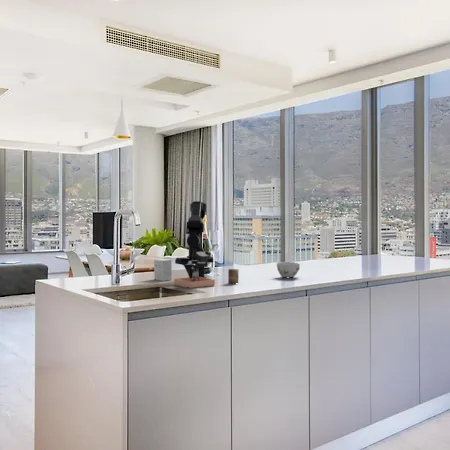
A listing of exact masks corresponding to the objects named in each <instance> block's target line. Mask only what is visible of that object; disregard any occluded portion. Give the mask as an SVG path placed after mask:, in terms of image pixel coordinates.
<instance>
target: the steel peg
mask: <svg viewBox="0 0 450 450" xmlns="http://www.w3.org/2000/svg"><path fill="white" fill-rule="evenodd" d="M190 281H191V282H193V281H199V269H197V268H193V267H192V278H191V279H190Z"/></svg>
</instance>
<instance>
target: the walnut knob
mask: <svg viewBox="0 0 450 450" xmlns="http://www.w3.org/2000/svg"><path fill="white" fill-rule="evenodd" d="M227 272H228V273H227V274H228V278H227V279H228V283H231V284H230V285H237V284H236V283H238V284H239V269H238V268H229V269H228V271H227Z"/></svg>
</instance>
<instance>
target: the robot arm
mask: <svg viewBox="0 0 450 450" xmlns="http://www.w3.org/2000/svg"><path fill="white" fill-rule="evenodd" d="M207 206H208V205H207V203H205V202H203V201H201V200H200V201H199V200H197V201H192V202H191V203H190V204H189V207H190V208H189V211H190V213H191V216H190V217H188V221H186V228H185V234H186V235H188V237H187V238H186V243H187V245H188V247H186V250H187V251H188V255H187V256H186V257H182V256H181V257H176V258H175V261H174V264H176V265H182V266H183V268H184V269H185V270H186V272H187V275H188V277H189V278H190V279H191V278H192V268H197V269H199V277H202V278H208V277H207V276H206V275H205V272H206V271H205V268H207V267H208V264H210V263H211V264H212V263H214V257H213V256H212V255H211V251H205V249H204V248H203V233H205V232H204V231H205V224H204V222H203V220H204V218H205V216H206V213H207V212H208V211H207V210H208V209H207V208H208V207H207ZM208 268H209V267H208Z"/></svg>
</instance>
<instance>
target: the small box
mask: <svg viewBox="0 0 450 450" xmlns="http://www.w3.org/2000/svg"><path fill="white" fill-rule="evenodd" d="M153 261H154V262H153V264H154V265H153V268H154V270H153V271H154V272H153V273H154V274H153V275H154V278H153V279H154V280H155V279H156V281H161V282H166V281H172V273H173V272H172V259H167V258H157V259H156V258H155V259H153Z"/></svg>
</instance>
